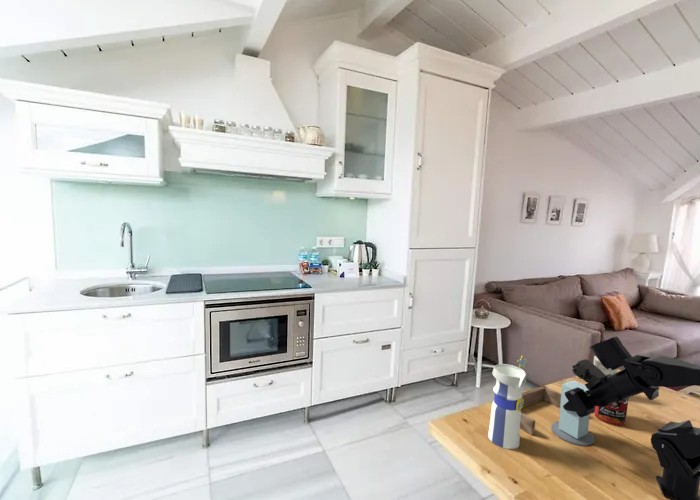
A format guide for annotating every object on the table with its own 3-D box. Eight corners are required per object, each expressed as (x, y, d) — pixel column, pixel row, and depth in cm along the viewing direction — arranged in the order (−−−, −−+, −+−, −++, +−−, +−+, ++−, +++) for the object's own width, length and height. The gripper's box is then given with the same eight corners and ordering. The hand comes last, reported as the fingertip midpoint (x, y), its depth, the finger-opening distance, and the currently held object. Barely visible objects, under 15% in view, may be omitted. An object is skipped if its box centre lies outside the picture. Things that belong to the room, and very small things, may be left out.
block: (587, 433, 94) (591, 388, 92) (577, 438, 91) (581, 392, 90) (569, 423, 98) (572, 380, 97) (558, 428, 96) (562, 384, 94)
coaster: (596, 450, 88) (596, 449, 88) (551, 437, 93) (551, 435, 93) (592, 430, 97) (592, 429, 97) (551, 418, 102) (551, 417, 102)
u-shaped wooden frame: (578, 414, 104) (579, 402, 104) (531, 435, 94) (532, 421, 93) (542, 397, 114) (543, 385, 113) (496, 413, 103) (497, 401, 103)
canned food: (596, 421, 101) (599, 386, 100) (591, 408, 108) (595, 375, 107) (628, 429, 97) (633, 393, 96) (622, 415, 104) (626, 381, 103)
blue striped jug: (527, 440, 91) (535, 350, 89) (513, 454, 86) (521, 358, 83) (496, 425, 97) (503, 340, 95) (481, 437, 92) (488, 348, 89)
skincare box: (612, 393, 118) (616, 359, 116) (614, 399, 114) (618, 364, 113) (590, 388, 121) (593, 355, 120) (591, 393, 117) (594, 359, 116)
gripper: (615, 349, 93) (570, 371, 104) (576, 361, 84) (531, 384, 95) (648, 390, 87) (596, 409, 98) (609, 407, 78) (556, 426, 89)
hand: (569, 405), depth 95 cm, fingers closed on block, 5 cm apart
